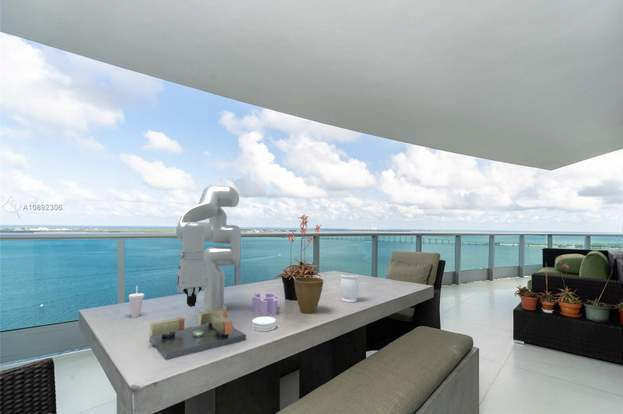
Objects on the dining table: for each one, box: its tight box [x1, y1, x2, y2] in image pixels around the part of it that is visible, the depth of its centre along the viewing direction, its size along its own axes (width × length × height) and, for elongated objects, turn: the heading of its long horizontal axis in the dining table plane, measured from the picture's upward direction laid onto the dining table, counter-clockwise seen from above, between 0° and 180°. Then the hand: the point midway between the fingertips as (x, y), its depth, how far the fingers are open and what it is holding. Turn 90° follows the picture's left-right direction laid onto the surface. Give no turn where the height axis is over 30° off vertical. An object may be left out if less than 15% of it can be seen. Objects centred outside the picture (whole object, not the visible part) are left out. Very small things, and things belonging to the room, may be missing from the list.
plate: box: [149, 324, 247, 360], centre depth 115 cm, size 20×28×3 cm
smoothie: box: [128, 285, 145, 318], centre depth 143 cm, size 6×6×14 cm
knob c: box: [212, 315, 234, 336], centre depth 116 cm, size 11×4×5 cm, turn 41°
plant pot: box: [293, 276, 324, 314], centre depth 158 cm, size 15×15×16 cm
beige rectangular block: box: [197, 309, 229, 327], centre depth 126 cm, size 11×4×5 cm, turn 131°
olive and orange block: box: [149, 316, 186, 338], centre depth 113 cm, size 11×4×5 cm, turn 133°
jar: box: [340, 273, 360, 303], centre depth 182 cm, size 11×10×15 cm
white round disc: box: [251, 316, 277, 333], centre depth 131 cm, size 10×10×4 cm
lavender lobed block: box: [251, 291, 279, 317], centre depth 158 cm, size 20×12×7 cm, turn 21°
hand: (191, 305), depth 116 cm, fingers closed
